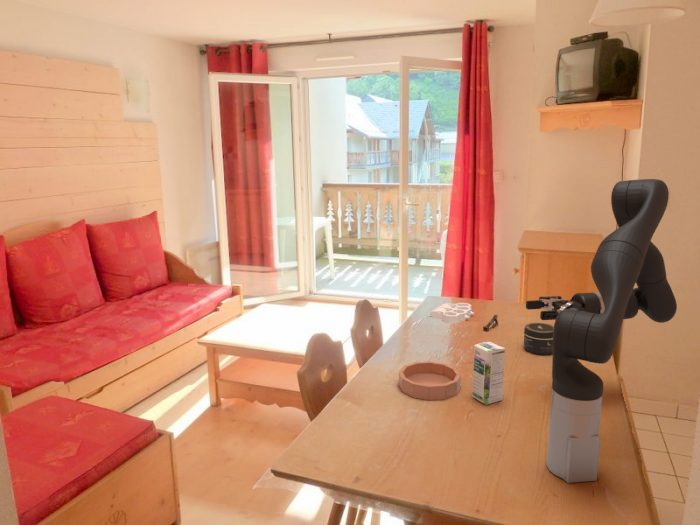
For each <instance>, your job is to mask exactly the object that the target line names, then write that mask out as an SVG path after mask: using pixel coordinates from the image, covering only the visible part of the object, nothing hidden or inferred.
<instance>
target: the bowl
mask: <svg viewBox="0 0 700 525" xmlns="http://www.w3.org/2000/svg"><path fill="white" fill-rule="evenodd" d="M398 385H399V387H400V390H401V392H402V393H404V394H405V395H408V396H410V397H412V398H413V399H420V400H425V401H440V400H442V401H443V400H446V399H447V400H448V399H449V398H451V397H455V396H456V395H458V393H459V392H460V389H461V373H460V372H459V370H458V369H457V368H455V367H454V366H451V365H448V364H447V363H444V362H435V361H432V360H431V361H430V360H429V361H416V362H415V361H414V362H412V363H409V364H406V365H405V364H404V365H403V366H402V368H401V369H400V370H399V372H398Z"/></svg>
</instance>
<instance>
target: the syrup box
mask: <svg viewBox="0 0 700 525" xmlns="http://www.w3.org/2000/svg"><path fill="white" fill-rule="evenodd" d="M505 354H506V348H505V347H503V346H500V345H498V344H496V343H493V342H492V341H483V342H480V343H476V344H474V346H473V362H472V363H473V364H472V366H473V367H472V383H471V384H472V385H471V386H472V387H471V388H472V389H471V397H472V398H474V399H476V400H477V401H479V402H481V403H482V404H484V405H485V406H488V405H491V404H494V403H497V402H500V401H501V402H502V401H503V393H504V392H503V390H504V374H505V373H504V372H505V361H506V360H505V358H506V355H505Z"/></svg>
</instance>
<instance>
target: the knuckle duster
mask: <svg viewBox="0 0 700 525" xmlns="http://www.w3.org/2000/svg"><path fill="white" fill-rule="evenodd" d="M472 315H475V312H473V310H472V304H470V303H469V302H468V303H467V302H457V303H448V302H446V303H442V304H440V305H439V306H437V307H435V309H433V310H431V311H430V312H429V316H430V317H431V318H435V319H441V320H442V322H443V323H446V324H451V325H454V324H453V323H455V324H459V322H465V321H467V320H468V319H470V318H471V316H472Z"/></svg>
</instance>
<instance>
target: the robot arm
mask: <svg viewBox="0 0 700 525" xmlns="http://www.w3.org/2000/svg"><path fill="white" fill-rule="evenodd" d="M669 194H670V192H669V188H668V186H667V184H666V182H665V181H664V180H661V179H656V178H646V179H645V178H641V179H631V180H630V179H629V180H622V181H621V180H620V181H618V182H617V183H615V185H613V188H612V191H611V195H610V197H611V198H610V201H611V202H610V204H611V209H612V213H613V216H614V219H615V222H616V224H617V227H618V228H617V229H614V230H613V231H612V232H611V233H610V234H608V235H607V236H606V237H605V238H604V239H603V240H602V241H601V242H600V243H599V245H598V247H597V250H596V252H595V254H594V257H593V259H592V261H591V264H590V273H591V278H592V280H593V282H594V284H595V286H596V289H597V290H598V291H597V292H595V291H593V292H576V293H574V294H573V295H572V298H570V299H567V298H562V296H560V295H554V296H553V295H551V296H539V297H538V300H537V299H534V300H526V302H525V308H526V310H530V311H531V310H541V311H540V315H539V318H540V320H542V321H553V320H554V323H553V324H554V325H553V326H554V329H553V353H552V363H551V364H552V365H551V367H552V368H551V379H552V380H551V381H552V382H551V383H552V386H551V398H550V409H549V422H548V423H549V424H548V438H547V451H546V452H547V453H546V454H547V455H546V467H547V469H548V470H549V471H550V472H551V473H552V474H553V475H554V476H556V477H558V478H560V479H562V480H564V481H565V482H566V483H568V484H569V483H581V482H583V483H584V482H594V481H595V482H596V481H597V479H598V471H599V470H598V468H599V458H600V448H601V440H602V439H601V436H600V424H601V416H602V405H603V397H604V396H603V394H604V382H603V380H602V377H601V376H599V375H598V374H597V373H595V372H594V371H593V370H591V369H589V368H587V367H586V366H585V365H583V364H582V362H580V361H584V362H589V363H594V364H599V365H600V364H607V363H608V362H609V361H610V360H611V358H612V356H613V354H614V352H615V350H616V347H617V344H618V341H619V337H620V333H621V328H622V325H623V321H624V320H629V319H634V317H636V316H637V315H638V313H639V311H641V312H642V313H644V315H646V317H648V318H649V319H650V320H652V321H653V322H656V323H659V324H662V323H664V324H665V323H667V322H670V321H671V320H672V319H673V318H674V317H675V315H676V313H677V308H678V306H677V303H678V302H677V301H676V300H677V299H676V297H675V294H674V292H673V290H672V287H671V285H670V283H669V281H668V279H667V271H666V265H665V260H664V256H663V254H662V252H661V251H660V248H658V247H657V246H656V245H655V243H653V242H652V238H653V236H654V234H655V232H656V231H657V228H658V226H659V225H660V223H661V221H662V218H663V216H664V215H665V212H666V210H667V207H668V202H669ZM635 286H637V287H635Z"/></svg>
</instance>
